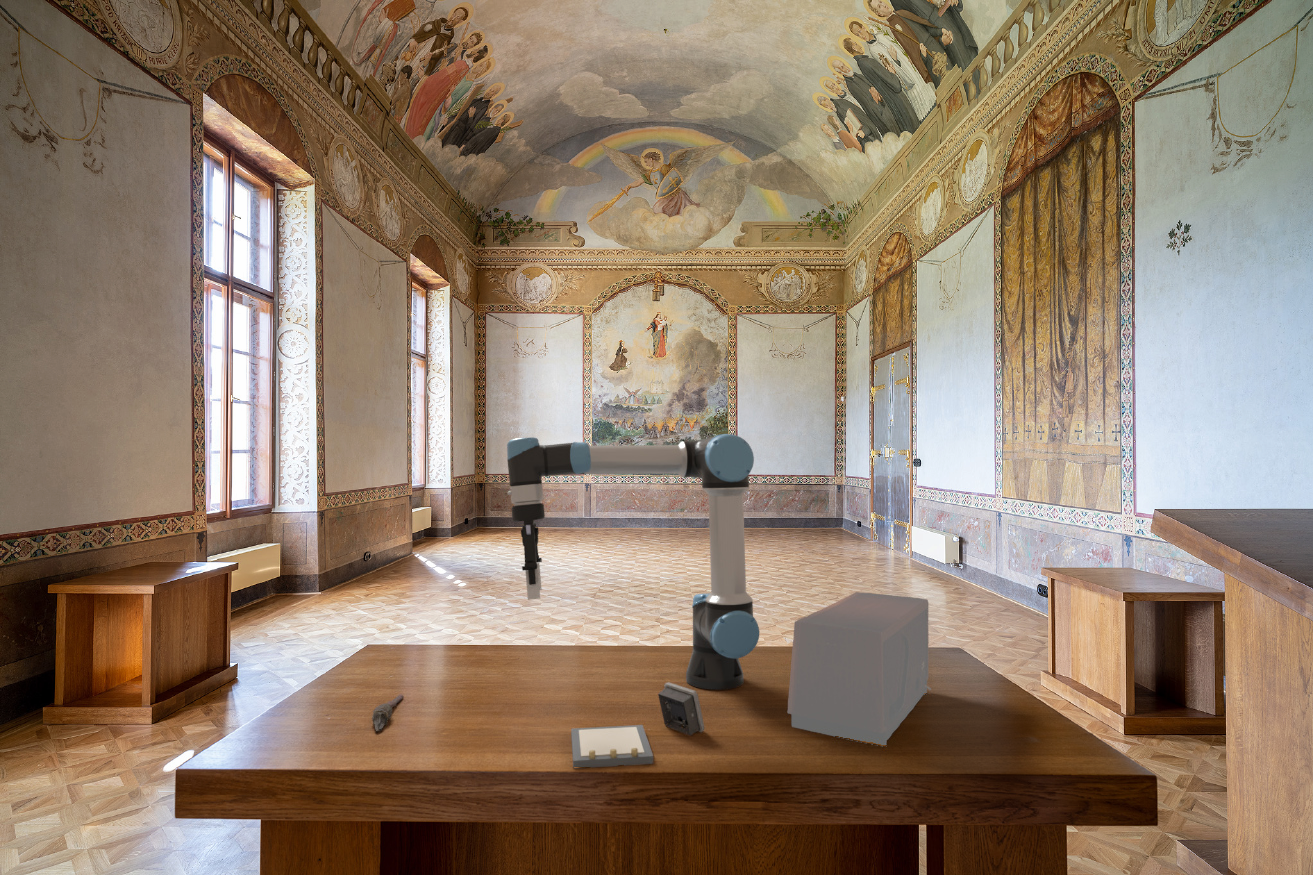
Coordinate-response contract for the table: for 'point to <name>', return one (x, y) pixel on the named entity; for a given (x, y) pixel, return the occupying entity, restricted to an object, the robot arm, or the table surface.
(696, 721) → the electrical switch
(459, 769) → the table surface
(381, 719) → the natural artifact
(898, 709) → the grey rounded box
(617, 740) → the plate
